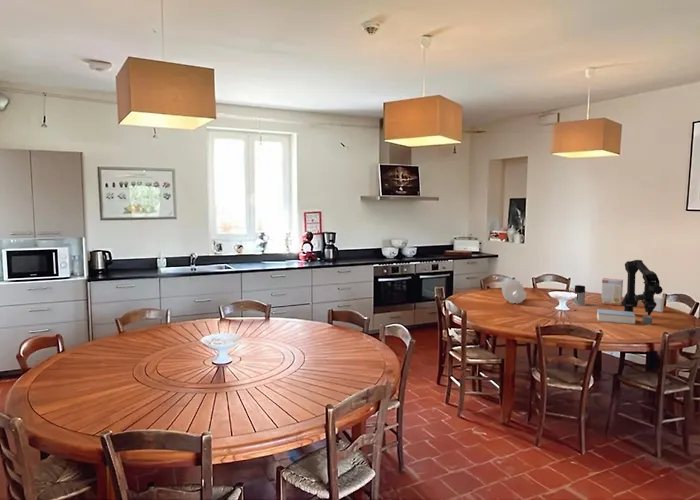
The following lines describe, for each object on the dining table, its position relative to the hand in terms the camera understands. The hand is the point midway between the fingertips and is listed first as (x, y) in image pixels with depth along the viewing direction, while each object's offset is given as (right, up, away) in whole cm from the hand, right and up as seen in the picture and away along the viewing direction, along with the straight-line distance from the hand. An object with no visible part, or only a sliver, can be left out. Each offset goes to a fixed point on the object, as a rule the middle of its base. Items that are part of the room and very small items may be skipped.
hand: (647, 313), depth 314 cm
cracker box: (+8, -1, +58) cm, 59 cm away
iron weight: (0, -7, +1) cm, 7 cm away
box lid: (-17, -1, +8) cm, 19 cm away
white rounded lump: (-67, 0, +71) cm, 97 cm away
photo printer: (+29, -3, +36) cm, 46 cm away
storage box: (-17, -6, +8) cm, 20 cm away
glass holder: (-20, -1, +58) cm, 62 cm away
